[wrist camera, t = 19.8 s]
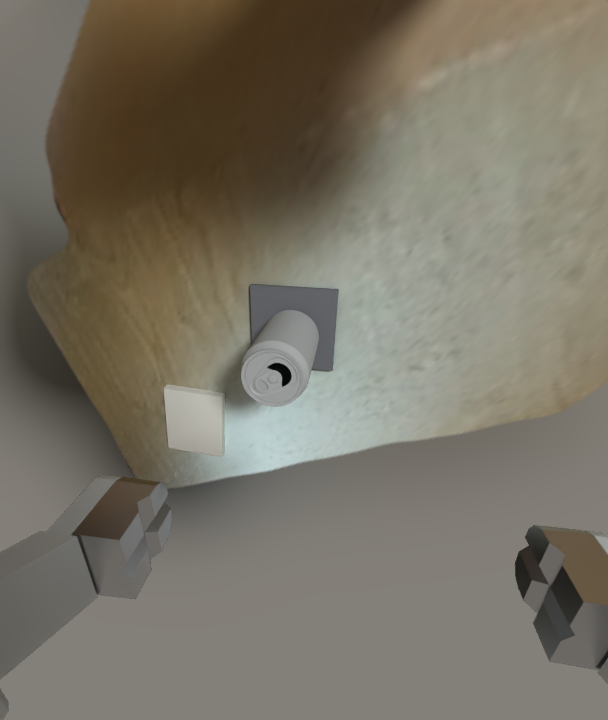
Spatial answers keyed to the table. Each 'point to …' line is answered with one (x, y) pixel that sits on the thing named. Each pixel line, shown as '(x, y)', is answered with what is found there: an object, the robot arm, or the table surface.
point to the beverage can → (280, 359)
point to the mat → (306, 300)
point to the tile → (195, 420)
